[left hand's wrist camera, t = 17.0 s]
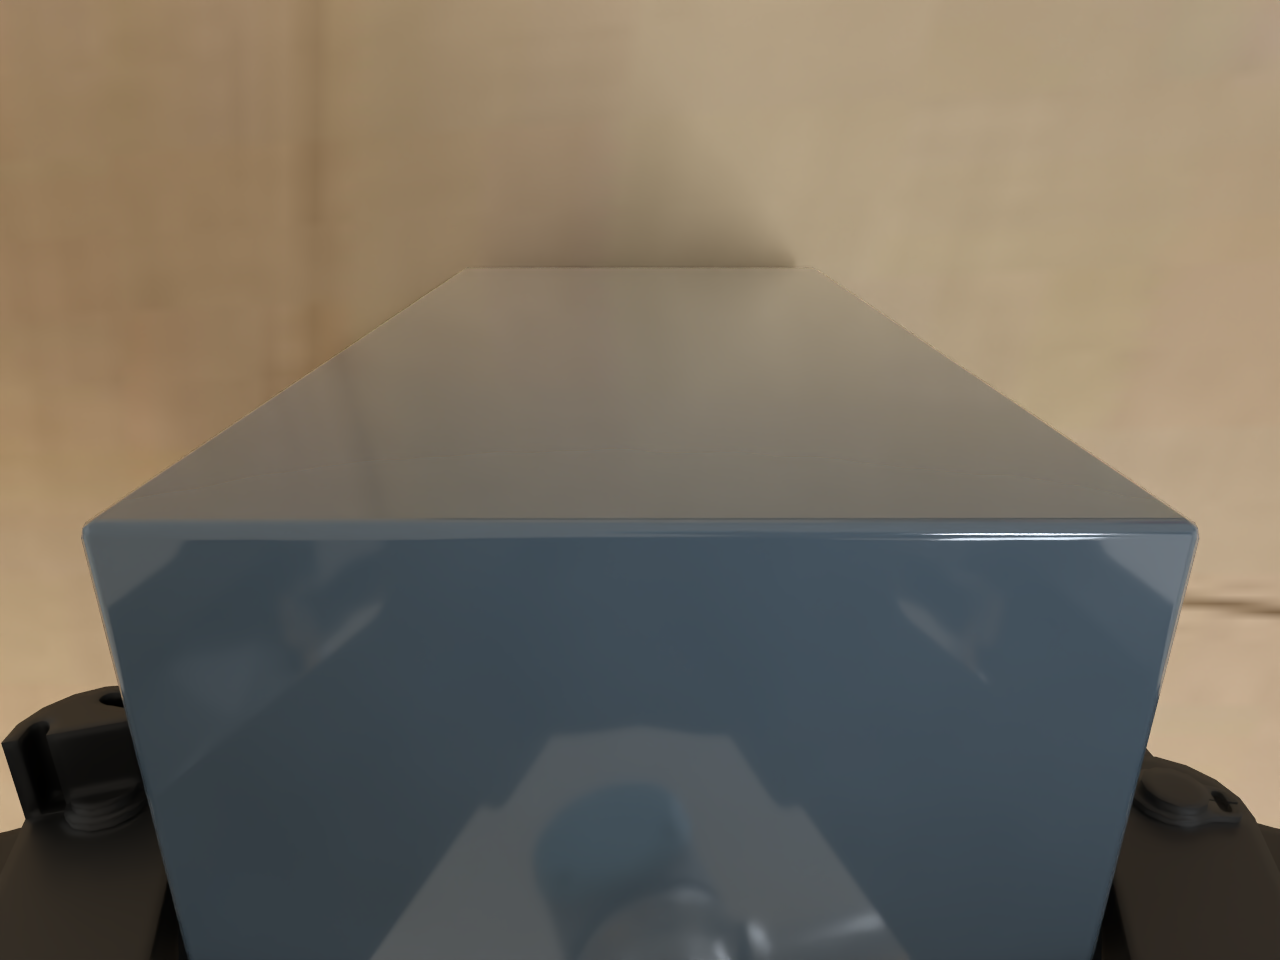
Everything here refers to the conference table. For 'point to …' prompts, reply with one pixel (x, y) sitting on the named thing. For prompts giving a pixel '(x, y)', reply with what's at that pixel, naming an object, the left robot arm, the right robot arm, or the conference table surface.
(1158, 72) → the conference table surface
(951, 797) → the brick
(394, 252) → the conference table surface
